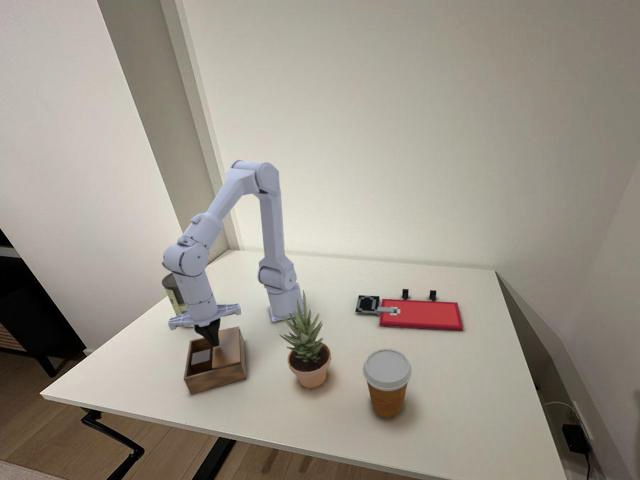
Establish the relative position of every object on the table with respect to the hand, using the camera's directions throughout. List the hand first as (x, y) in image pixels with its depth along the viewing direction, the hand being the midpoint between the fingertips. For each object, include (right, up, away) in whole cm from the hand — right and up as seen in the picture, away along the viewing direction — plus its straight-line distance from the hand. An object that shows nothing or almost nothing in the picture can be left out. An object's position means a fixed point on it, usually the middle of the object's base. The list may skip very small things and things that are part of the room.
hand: (216, 343), depth 75 cm
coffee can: (-15, +3, +21) cm, 26 cm away
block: (-4, -7, +2) cm, 8 cm away
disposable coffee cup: (+40, -11, -8) cm, 42 cm away
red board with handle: (+48, +5, +19) cm, 52 cm away
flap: (+2, -1, +1) cm, 3 cm away
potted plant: (+23, -8, -1) cm, 24 cm away
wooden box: (-1, -6, +3) cm, 7 cm away
